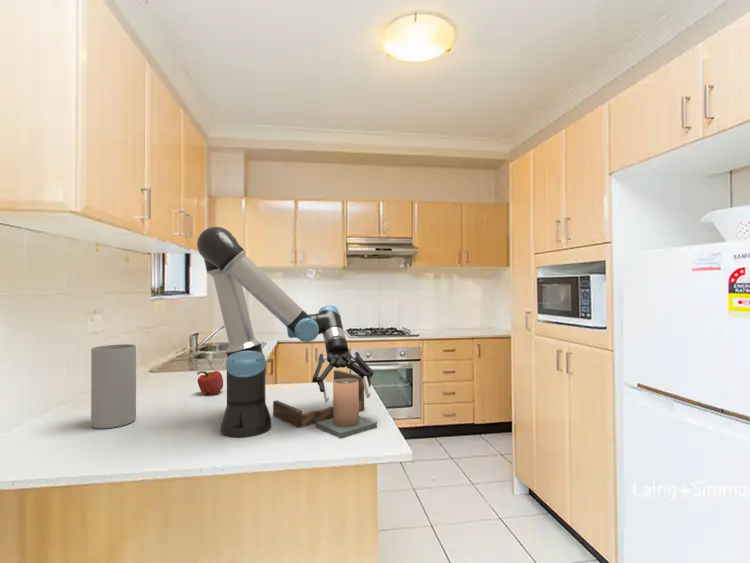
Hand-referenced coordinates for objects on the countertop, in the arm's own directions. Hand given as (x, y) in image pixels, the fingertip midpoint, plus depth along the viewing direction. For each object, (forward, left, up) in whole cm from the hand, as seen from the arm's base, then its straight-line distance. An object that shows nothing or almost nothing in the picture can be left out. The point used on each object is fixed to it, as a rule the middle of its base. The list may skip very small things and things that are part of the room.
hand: (348, 398), depth 130 cm
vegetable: (-17, +73, -10) cm, 76 cm away
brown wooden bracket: (+2, +20, -9) cm, 22 cm away
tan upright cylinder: (0, +1, -8) cm, 8 cm away
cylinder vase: (-54, +56, -10) cm, 78 cm away
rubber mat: (0, +1, -9) cm, 9 cm away
